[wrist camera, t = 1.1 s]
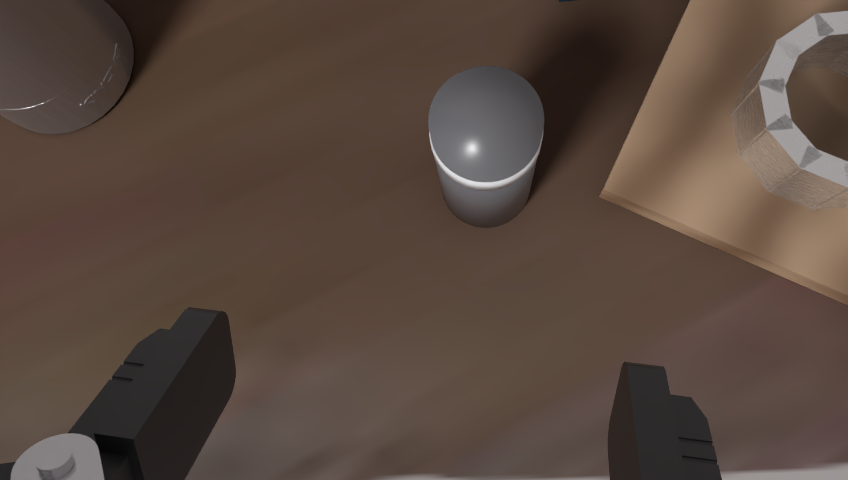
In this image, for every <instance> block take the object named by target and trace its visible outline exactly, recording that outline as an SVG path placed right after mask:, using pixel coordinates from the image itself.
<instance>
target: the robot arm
mask: <svg viewBox="0 0 848 480" xmlns="http://www.w3.org/2000/svg"><path fill="white" fill-rule="evenodd" d="M133 63H134V48H133V43H132V39H131V35H130V33H129V31H128V29H127V26H126V24H125V23H124V21H123V20H122V19H121V18H120V17H119V15H118V14H117V13H116V12H115V11H114V10H113V9H112V8H111V7H110V6H109V5H108V4H107V3H106V2H105V1H104V0H0V115H1V116H3V117H5V118H6V119H8V120H10V121H12V122H14V123H15V124H17V125H19V126H21V127H23V128H25V129H27V130H29V131H33V132H37V133H42V134H62V133H67V132H72V131H76V130H78V129H81V128H83V127H86V126H88V125H90V124H91V123H93V122H95V121H96V120H98V119H99V118H101V117H102V116H103V115H104V114H105V113H107V112H108V111H109V110H110V109H111V108H112V107H113V106H114V105H115V103H116V102H117V101H118V99H119V98H120V97H121V95H122V94H123V92H124V90H125V88H126V86H127V84H128V82H129V79H130V76H131V72H132V68H133ZM235 377H236V367H235V360H234V353H233V346H232V339H231V333H230V326H229V320H228V316H227V314H226V313H225V312H223V311H215V310H207V309H199V308H187V309H186V310H185V311H184V312H183V313H182V314H181V316H180V317H179V318H178V320H177V321H176V322H175V324H174V325H173V326H172V328H171V329H170V330H167V329H159V330H157V331H156V332H154V333H153V334H151V335H150V336H148V337H147V338H145V339H144V340H142V341H141V342H139V343H138V344H137V345H136V346H135V348H134V349H133V350H132V352H131V353H130V354H129V355H128V357H127V358H126V359H125V361H124V364H123V365H121V366H120V367H119V368H118V369H117V371H116V372H115V373H114V375H113V376H112V380H109V381H108V382H107V384H106V385H105V386H104V387H103V389H102V390H101V391H100V393H99V394H98V395H97V396H96V398H95V399H94V400H93V401H92V403H91V404H90V405H89V407H88V408H87V409H86V410H85V412H84V413H83V414H82V416H81V417H80V418H79V419H78V421H77V422H76V423H75V425H74V426H73V427H72V428H71V430H70V431H69V432H68V433H67V434H60V435H56V436H52V437H50V438H47V439H44V440H42V441H40V442H38V443H36V444H35V445H33V446H32V447H30V448H29V449H28V450H26V451H25V452H24V453H23V454H22V455H21V456H20V457H19V459H18V460H17V461H16V462H12V463H4V464H0V480H185V478H186V476H187V475H188V473H189V471H190V469H191V467H192V466H193V464H194V462H195V460H196V458H197V456H198V455H199V453H200V451H201V449H202V447H203V446H204V444H205V442H206V440H207V438H208V437H209V435H210V433H211V431H212V429H213V428H214V426H215V424H216V422H217V420H218V419H219V417H220V415H221V413H222V411H223V410H224V408H225V406H226V404H227V402H228V401H229V399H230V397H231V394H232V391H233V388H234V384H235ZM712 442H713V441H712V437H711V433H710V429H709V425H708V421H707V418H706V417H705V415H704V414H703V413H702V411H701V410H700V409H699V407H698V406H697V405H696V404H695V402H694V401H693V400H692V398H691V397H685V396H677V395H670V391H669V386H668V381H667V375H666V371H665V368H664V367H663V366H655V365H646V364H638V363H630V362H624V363H623V365H622V368H621V372H620V377H619V381H618V386H617V390H616V395H615V399H614V404H613V408H612V413H611V417H610V423H609V431H608V459H609V472H610V480H722V478H721V474H720V470H719V466H718V465H717V458H716V454H715V450H714V446H712Z"/></svg>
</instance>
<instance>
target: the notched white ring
mask: <svg viewBox="0 0 848 480" xmlns="http://www.w3.org/2000/svg"><path fill="white" fill-rule="evenodd" d="M820 68H828V69H831V70H834V71H836V72H839V73H841V74H844V75H847V76H848V11H841V12H831V13H821V14H818V13H817V14H814V15H813V16H812V17H811V18H810V19H808V20H807V21H805V22H804V23H802V24H801V25H799V26H798V27H796V28H795V29H793V30H792V31H790V32H789V33H787V34H786V35H784V36H783V37H781V38H780V39H777V40H776V42H775V43H774V44H773V45H772V46H771V48H770V49H769V50H768V51H767V52H766V54H765V55H764V56H763V57H762V58H761V60H760V61H759V62H758V63H757V64H756V66H755V67H754V68H753V69H752V70H751V72H750V73H749V74H748V75H747V79H746V81H745V83H744V86H743V88H742V90H741V92H740V95H739V97H738V99H737V102H736V104H735V106H734V108H733V110H732V111H731V115H732V121H733V127H734V133H735V139H736V145H737V151H738V154H737V155H738V157H740V158H741V159H742V161H743V162H744V163H745V164H746V165H747V167H748V168H749V169H750V170H751V171H752V173H753V174H754V175H755V176H756V177H757V179H758V180H759V181H760V182H761V183H762V185H763V186H764V187H765V188H766V189H767V190H766V191H768V192H771V193H774V194H776V195H778V196H781V197H783V198H786V199H788V200H790V201H793V202H795V203H798V204H800V205H802V206H805V207H807V208H810V209H811V210H814V211H815V210H819V209H831V208H843V207H848V161H845V160H843V159H840V158H838V157H835V156H833V155H830V154H828V153H825V152H823V151H820V150H818V149H816V148H815V147H814V146H813V144H812V143H811V142H810V141H809V140H808V139H807V138H806V136H805V135H804V134H803V133H802V132H801V131H800V129H799V128H798V127H797V126H796V125H795V124H794V123H793V121H792V120H791V114H790V109H789V104H788V98H787V93H786V88H785V86H786V83H787V81H788V78H789V76H790V74H791V72H793V71H799V70H810V69H820Z"/></svg>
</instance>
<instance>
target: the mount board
mask: <svg viewBox="0 0 848 480" xmlns="http://www.w3.org/2000/svg"><path fill="white" fill-rule="evenodd" d="M841 11H848V0H689V2H688V4H687V6H686V9H685V11H684V13H683V15H682V17H681V20H680V22H679V24H678V26H677V28H676V30H675V33H674V35H673V37H672V39H671V41H670V43H669V46H668V48H667V50H666V52H665V54H664V56H663V59H662V61H661V63H660V65H659V67H658V69H657V72H656V74H655V76H654V78H653V80H652V82H651V85H650V87H649V89H648V91H647V93H646V95H645V98H644V100H643V102H642V104H641V106H640V109H639V111H638V113H637V115H636V117H635V119H634V122H633V124H632V126H631V128H630V130H629V132H628V135H627V137H626V139H625V141H624V143H623V145H622V148H621V150H620V152H619V154H618V156H617V158H616V161H615V163H614V165H613V167H612V169H611V171H610V174H609V176H608V178H607V180H606V182H605V184H604V187H603V189H602V191H601V193H600V195H599V197H601V198H603V199H605V200H607V201H610V202H612V203H614V204H617V205H619V206H621V207H623V208H626V209H628V210H630V211H633V212H635V213H637V214H640V215H642V216H644V217H646V218H649V219H651V220H653V221H656V222H658V223H660V224H663V225H665V226H667V227H669V228H672V229H674V230H676V231H679V232H681V233H683V234H685V235H688V236H690V237H692V238H695V239H697V240H699V241H702V242H704V243H706V244H708V245H711V246H713V247H715V248H718V249H720V250H722V251H724V252H727V253H729V254H731V255H734V256H736V257H738V258H741V259H743V260H745V261H747V262H750V263H752V264H754V265H757V266H759V267H761V268H764V269H766V270H768V271H770V272H773V273H775V274H777V275H780V276H782V277H784V278H786V279H789V280H791V281H793V282H796V283H798V284H800V285H803V286H805V287H807V288H809V289H812V290H814V291H816V292H819V293H821V294H823V295H826V296H828V297H830V298H832V299H835V300H837V301H839V302H842V303H844V304H846V305H848V207H843V208H831V209H819V210H815V211H814V210H811V209H810V208H807V207H805V206H802V205H800V204H798V203H795V202H793V201H790V200H788V199H786V198H783V197H781V196H778V195H776V194H774V193H771V192H768V191H766V190H767V189H766V188H765V187H764V186H763V185H762V183H761V182H760V181H759V180H758V179H757V177H756V176H755V175H754V174H753V173H752V171H751V170H750V169H749V168H748V167H747V165H746V164H745V163H744V162H743V161H742V159H741V158H740V157H738V155H737V154H738V151H737V145H736V139H735V133H734V127H733V121H732V115H731V111H732V110H733V108H734V106H735V104H736V102H737V99H738V97H739V95H740V92H741V90H742V88H743V86H744V83H745V81H746V79H747V75H748V74H749V73H750V72H751V70H752V69H753V68H754V67H755V66H756V64H757V63H758V62H759V61H760V60H761V58H762V57H763V56H764V55H765V54H766V52H767V51H768V50H769V49H770V48H771V46H772V45H773V44H774V43H775V42H776V40H777V39H780V38H781V37H783V36H784V35H786V34H787V33H789V32H790V31H792V30H793V29H795V28H796V27H798V26H799V25H801V24H802V23H804V22H805V21H807V20H808V19H810V18H811V17H812V16H813V15H814V14H817V13H818V14H821V13H831V12H841ZM785 88H786V93H787V98H788V104H789V109H790V114H791V120H792V121H793V123H794V124H795V125H796V126H797V127H798V128H799V129H800V131H801V132H802V133H803V134H804V135H805V136H806V138H807V139H808V140H809V141H810V142H811V143H812V144H813V146H814V147H815V148H816V149H818V150H820V151H823V152H825V153H828V154H830V155H833V156H835V157H838V158H840V159H843V160H845V161H848V76H847V75H844V74H841V73H839V72H836V71H834V70H831V69H828V68H820V69H810V70H799V71H793V72H791V74H790V76H789V78H788V81H787V83H786V86H785Z"/></svg>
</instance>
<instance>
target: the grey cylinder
mask: <svg viewBox="0 0 848 480" xmlns="http://www.w3.org/2000/svg"><path fill="white" fill-rule="evenodd" d="M428 125H429V136H430V142H431V147H432V151H433V154H434V157H435V160H436V164H437V169H438V174H439V178H440V183H441V187H442V192H443V196H444V199H445V202H446V204H447V206H448V207H449V209H450V210H451V212H452V213H453V214H454V215H455V216H456V217H457V218H459V219H460V220H461V221H463V222H465V223H467V224H469V225H472V226H476V227H483V228H489V227H496V226H500V225H502V224H505V223H507V222H509V221H510V220H512V219H513V218H515V217H516V216H517V215H518V214H519V213H520V212H521V210H522V209H523V208H524V206H525V204H526V202H527V200H528V197H529V193H530V189H531V184H532V179H533V175H534V170H535V166H536V161H537V157H538V155H539V152H540V148H541V143H542V139H543V131H544V130H543V129H544V111H543V106H542V103H541V100H540V98H539V96H538V94H537V92H536V91H535V89H534V88H533V87H532V86H531V85H530V83H529V82H527V81H526V80H525V79H524V78H523V77H521V76H520V75H518V74H517V73H515V72H513V71H510V70H508V69H505V68H501V67H496V66H479V67H473V68H470V69H466V70H464V71H462V72H459V73H458V74H456V75H454V76H453V77H451V78H450V79H449V80H447V81H446V82H445V83H444V84H443V85H442V87H441V88H440V89H439V90H438V92H437V93H436V95H435V97H434V99H433V101H432V103H431V107H430V110H429V117H428Z"/></svg>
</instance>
